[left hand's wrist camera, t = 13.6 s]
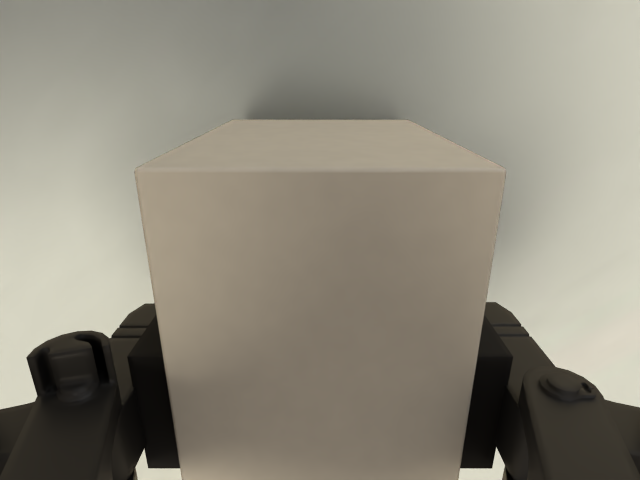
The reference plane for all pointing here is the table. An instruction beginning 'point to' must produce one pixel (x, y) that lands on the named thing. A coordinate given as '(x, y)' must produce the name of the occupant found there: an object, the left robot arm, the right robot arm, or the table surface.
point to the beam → (320, 296)
